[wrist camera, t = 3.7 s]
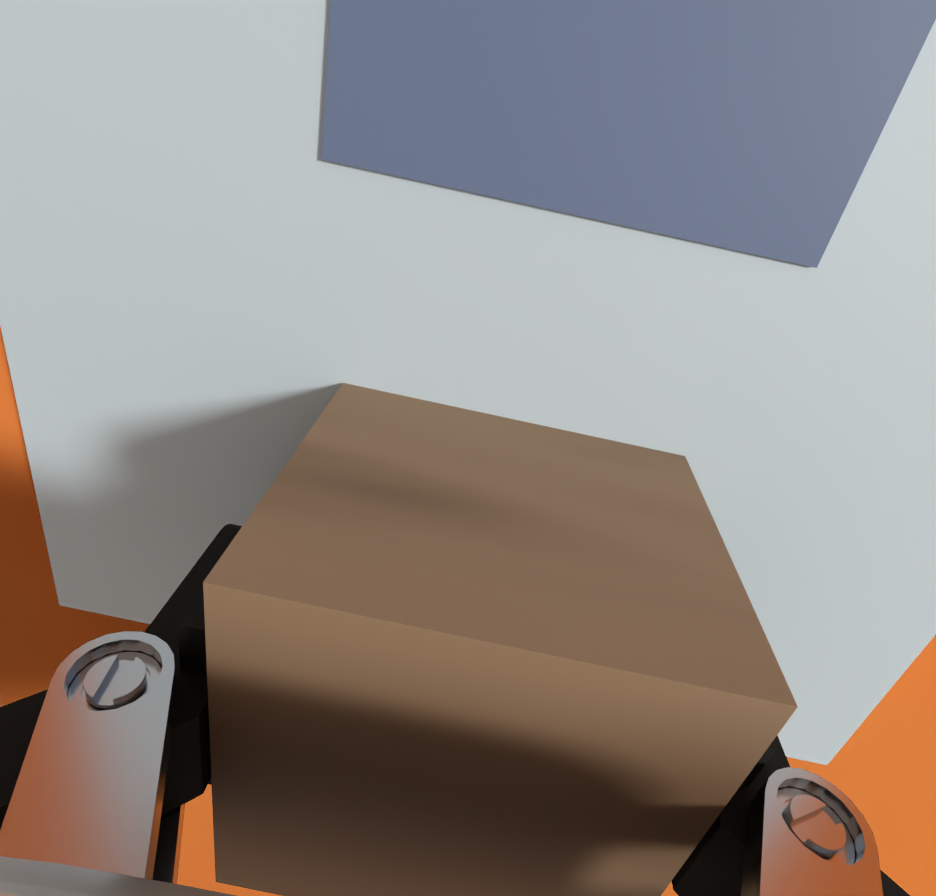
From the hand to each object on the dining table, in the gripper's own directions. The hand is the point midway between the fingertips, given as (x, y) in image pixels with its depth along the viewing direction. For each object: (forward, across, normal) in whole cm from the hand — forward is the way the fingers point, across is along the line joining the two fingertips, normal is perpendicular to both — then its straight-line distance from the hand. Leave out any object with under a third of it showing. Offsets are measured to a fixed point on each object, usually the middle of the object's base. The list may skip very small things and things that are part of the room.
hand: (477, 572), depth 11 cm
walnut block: (+1, 0, 0) cm, 1 cm away
